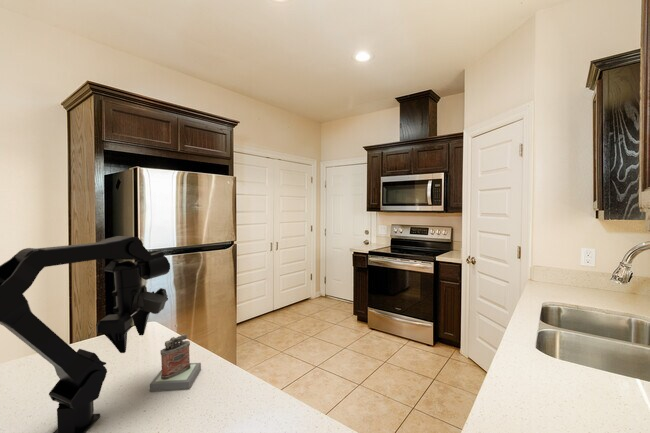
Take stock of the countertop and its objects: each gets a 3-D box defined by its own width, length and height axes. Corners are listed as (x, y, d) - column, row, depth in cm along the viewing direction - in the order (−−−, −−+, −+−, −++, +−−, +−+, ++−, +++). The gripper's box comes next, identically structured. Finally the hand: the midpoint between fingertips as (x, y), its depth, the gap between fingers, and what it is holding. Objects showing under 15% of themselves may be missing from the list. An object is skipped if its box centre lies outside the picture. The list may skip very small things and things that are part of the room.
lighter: (165, 381, 81) (164, 344, 81) (158, 377, 83) (157, 341, 83) (192, 368, 88) (192, 333, 88) (186, 364, 90) (185, 331, 90)
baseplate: (189, 389, 81) (188, 381, 81) (149, 391, 80) (149, 383, 80) (200, 369, 91) (200, 362, 91) (166, 371, 90) (165, 364, 90)
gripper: (144, 295, 70) (148, 361, 71) (175, 273, 88) (178, 325, 90) (91, 298, 69) (97, 364, 70) (134, 275, 87) (138, 328, 88)
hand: (132, 343), depth 79 cm, fingers open, 9 cm apart
